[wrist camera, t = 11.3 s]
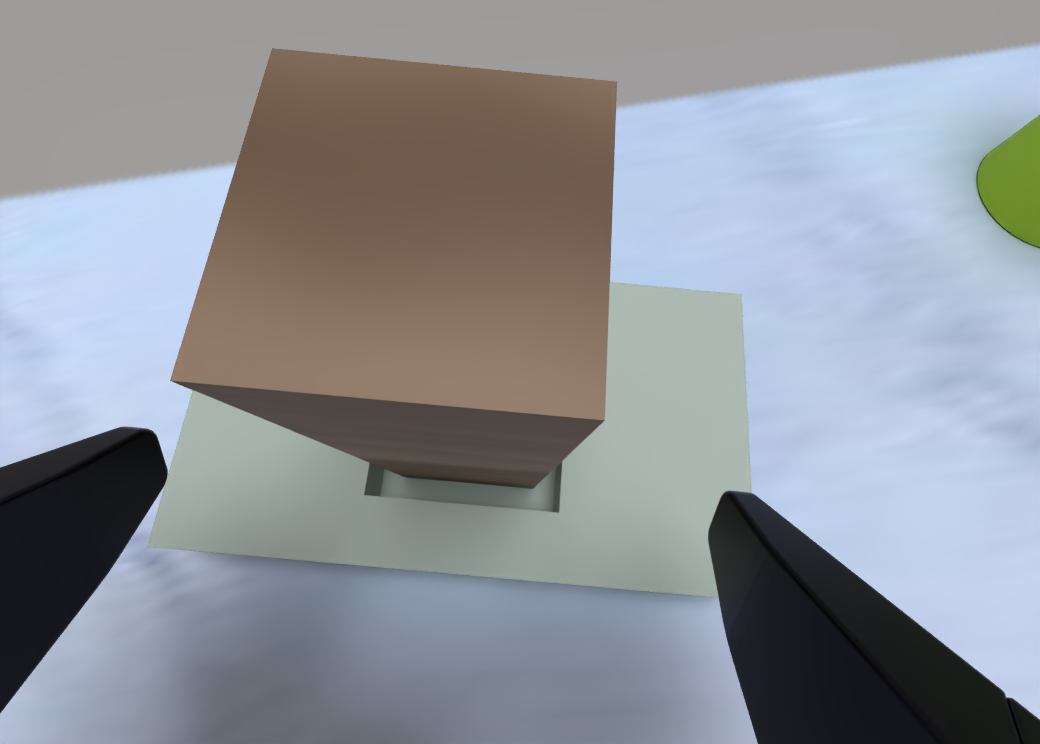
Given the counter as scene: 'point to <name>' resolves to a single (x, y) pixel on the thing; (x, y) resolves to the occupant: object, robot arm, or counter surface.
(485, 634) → the counter surface
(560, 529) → the sage rectangular frame
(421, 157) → the walnut post
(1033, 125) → the soap dispenser
